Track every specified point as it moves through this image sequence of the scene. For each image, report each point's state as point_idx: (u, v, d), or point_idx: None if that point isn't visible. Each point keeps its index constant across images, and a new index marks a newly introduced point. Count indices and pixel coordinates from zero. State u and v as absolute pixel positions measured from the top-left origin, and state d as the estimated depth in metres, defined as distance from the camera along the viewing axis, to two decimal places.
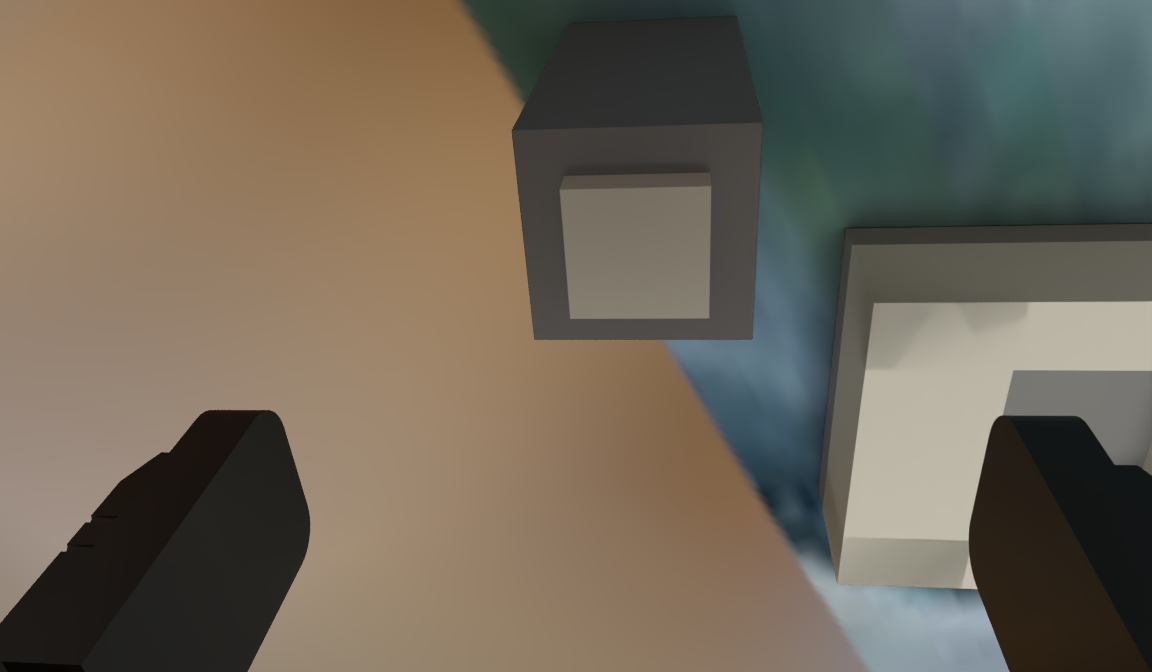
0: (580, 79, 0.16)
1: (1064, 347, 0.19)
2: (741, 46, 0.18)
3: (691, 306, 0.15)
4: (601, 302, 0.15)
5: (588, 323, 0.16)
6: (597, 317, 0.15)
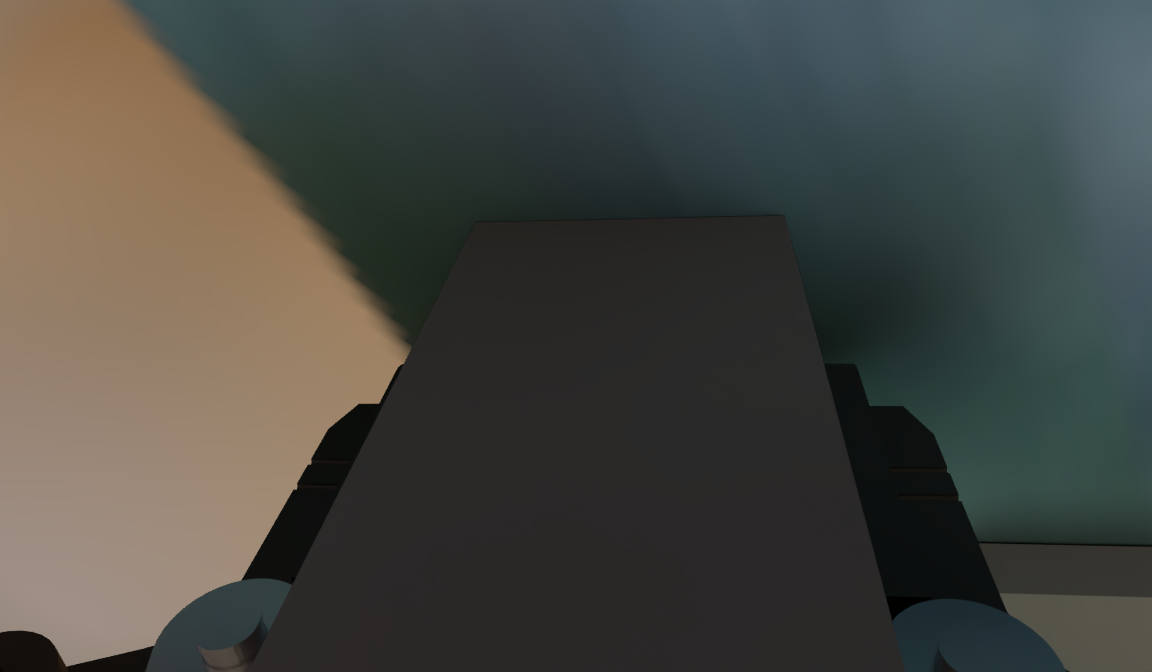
0: (448, 472, 0.07)
1: None
2: (811, 338, 0.08)
3: None
4: None
5: None
6: None
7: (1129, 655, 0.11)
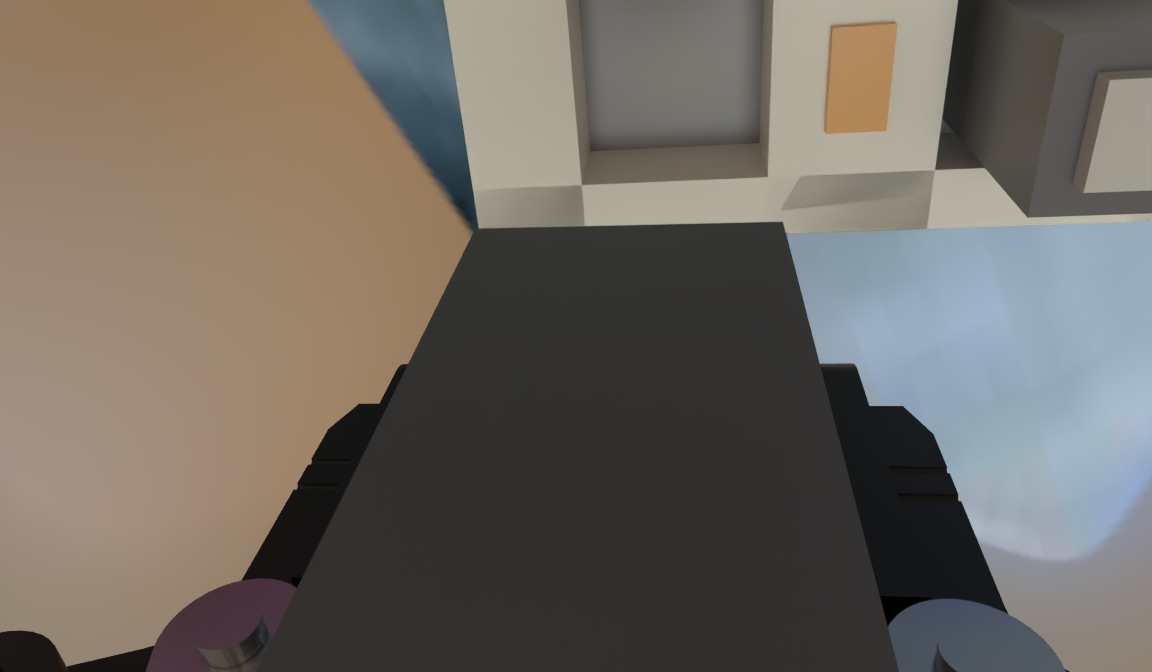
0: (449, 479, 0.07)
1: None
2: (809, 345, 0.08)
3: None
4: None
5: None
6: None
7: None
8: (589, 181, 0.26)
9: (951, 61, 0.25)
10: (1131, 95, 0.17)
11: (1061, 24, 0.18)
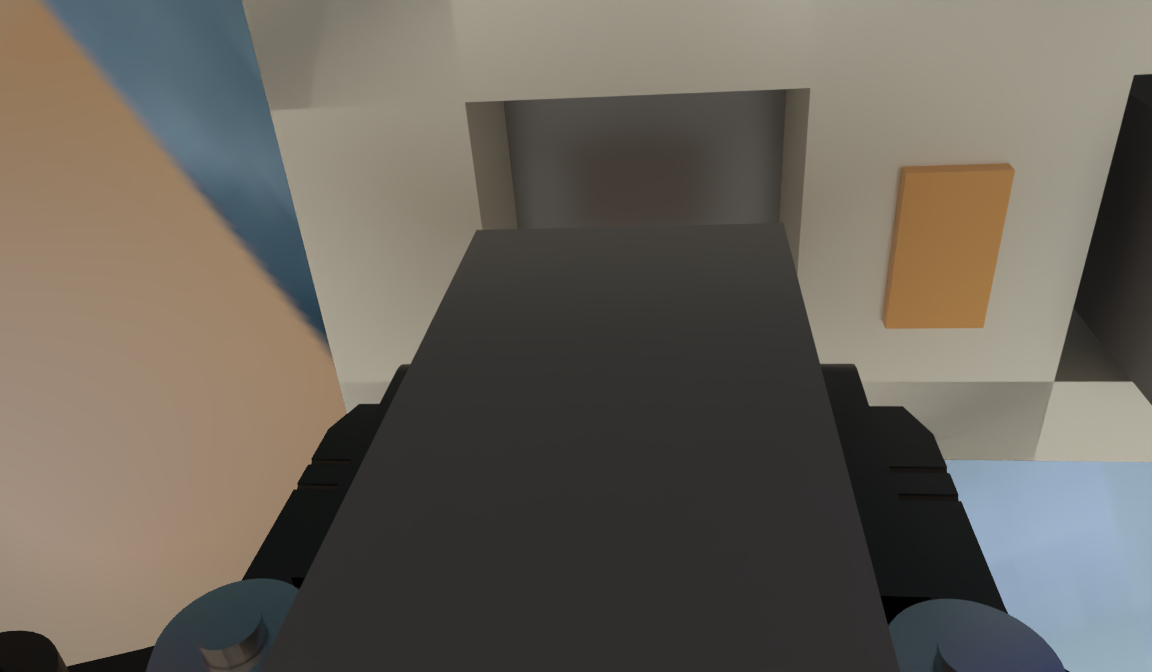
0: (450, 482, 0.07)
1: (519, 59, 0.13)
2: (810, 346, 0.08)
3: None
4: None
5: None
6: None
7: None
8: None
9: None
10: None
11: None
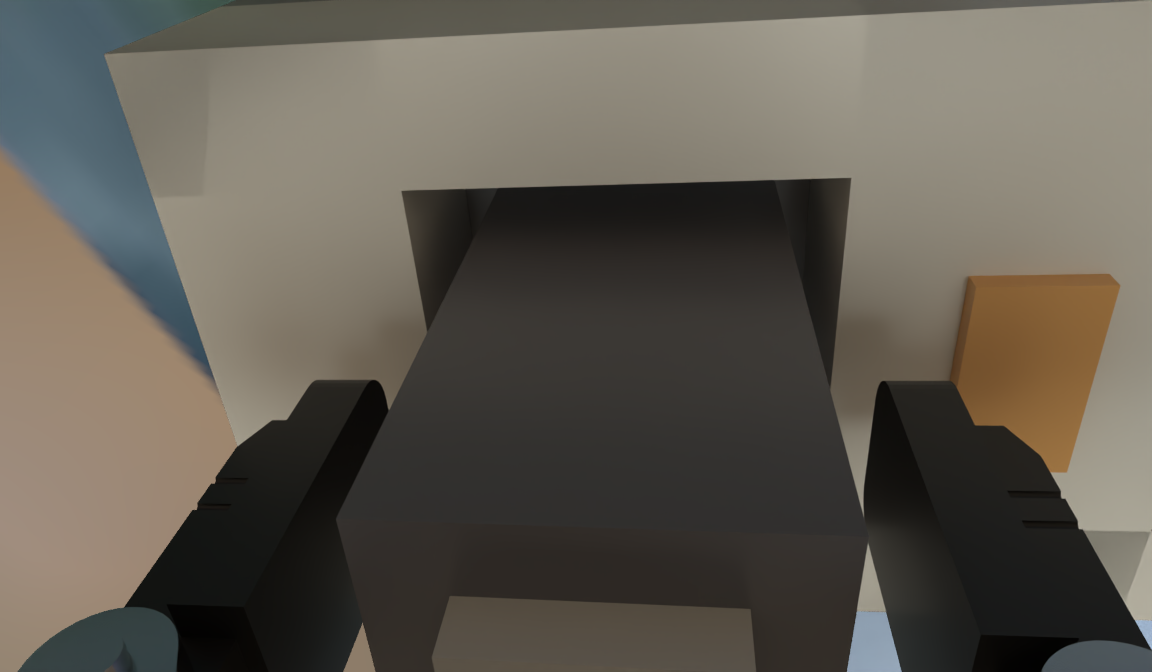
0: (505, 328, 0.09)
1: (470, 138, 0.10)
2: (787, 244, 0.10)
3: None
4: None
5: None
6: None
7: (293, 14, 0.12)
8: None
9: None
10: None
11: None
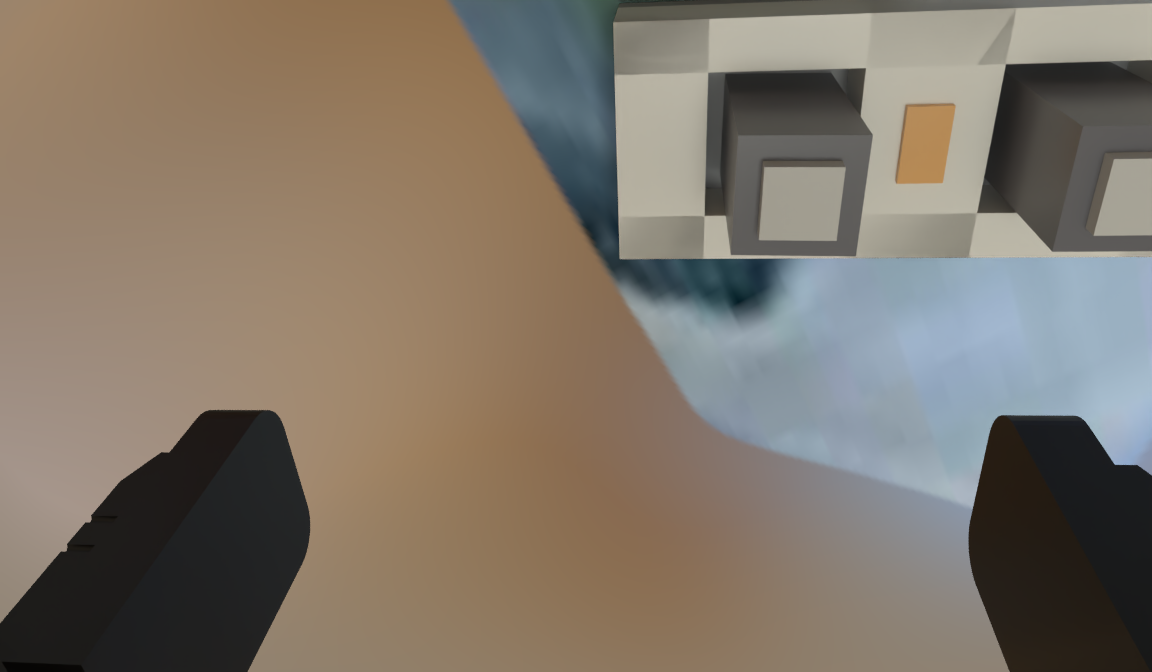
0: (757, 109, 0.29)
1: (736, 53, 0.30)
2: (843, 92, 0.30)
3: (827, 233, 0.27)
4: (777, 230, 0.27)
5: (763, 245, 0.28)
6: (774, 239, 0.27)
7: (659, 10, 0.31)
8: (709, 213, 0.33)
9: None
10: (1128, 170, 0.25)
11: (1080, 117, 0.26)
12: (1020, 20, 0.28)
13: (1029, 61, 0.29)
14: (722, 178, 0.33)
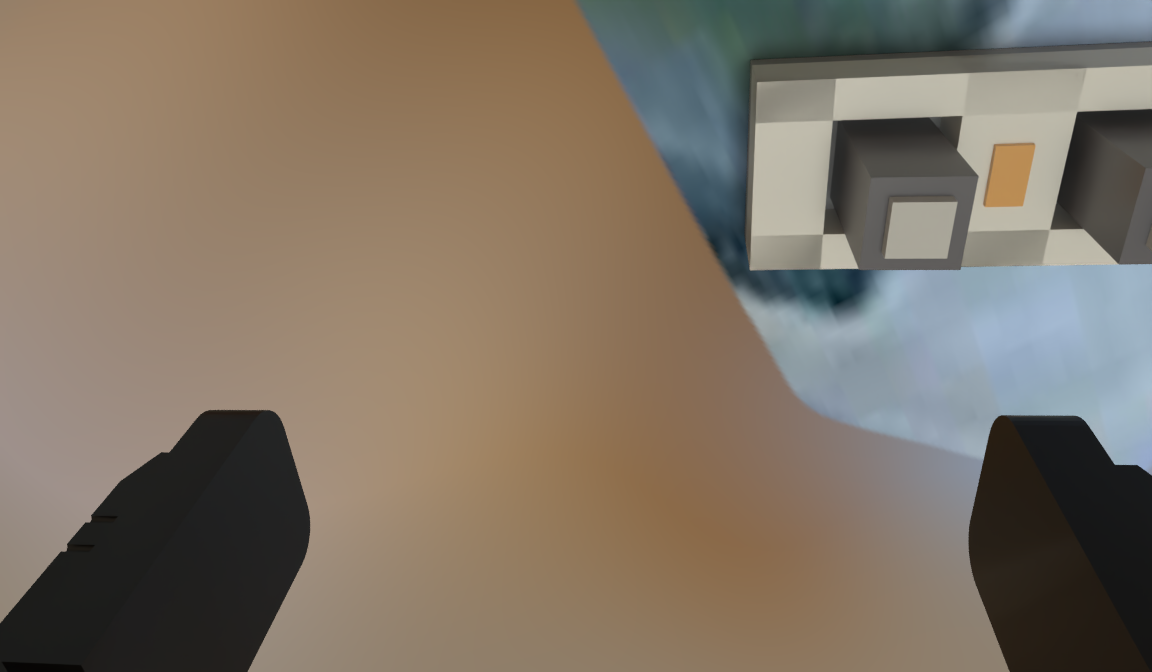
0: (878, 152, 0.36)
1: (857, 105, 0.37)
2: (943, 135, 0.37)
3: (940, 253, 0.34)
4: (900, 251, 0.34)
5: (886, 261, 0.35)
6: (897, 258, 0.34)
7: (789, 68, 0.38)
8: (826, 232, 0.40)
9: None
10: None
11: (1142, 159, 0.33)
12: (1090, 77, 0.35)
13: (1096, 109, 0.36)
14: (836, 202, 0.41)
